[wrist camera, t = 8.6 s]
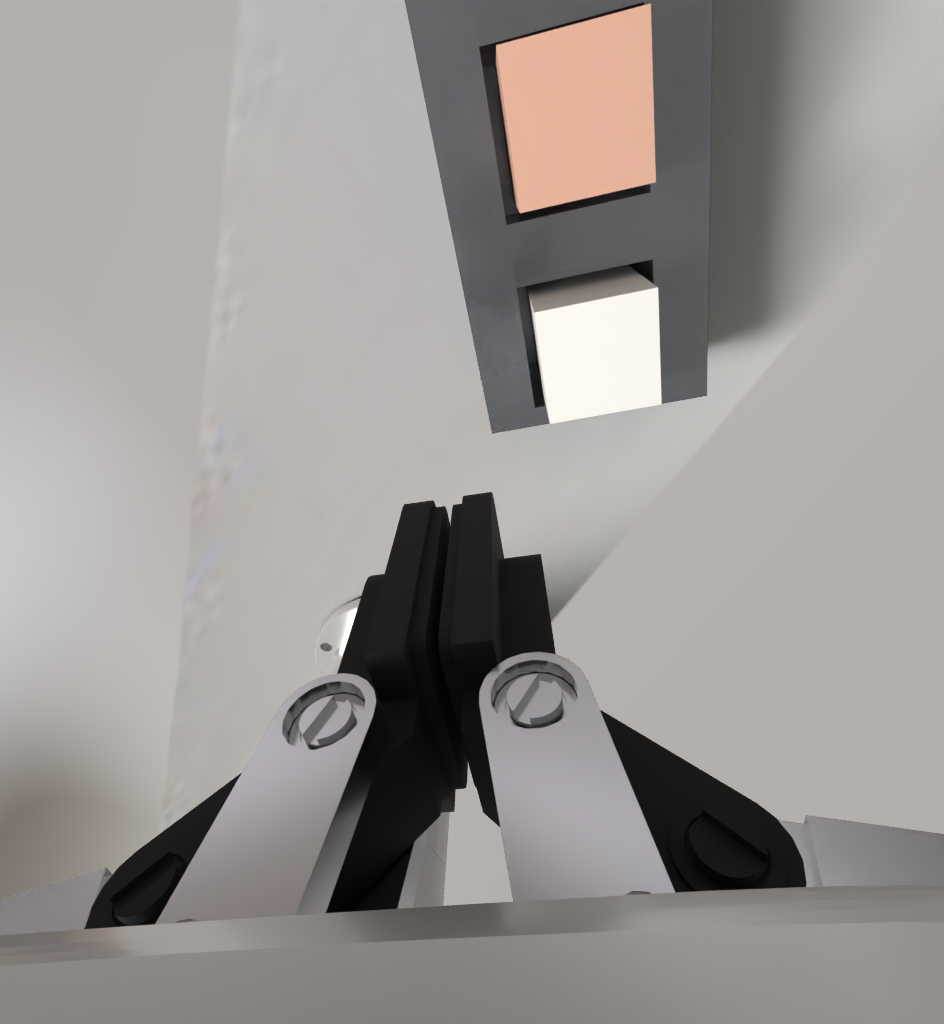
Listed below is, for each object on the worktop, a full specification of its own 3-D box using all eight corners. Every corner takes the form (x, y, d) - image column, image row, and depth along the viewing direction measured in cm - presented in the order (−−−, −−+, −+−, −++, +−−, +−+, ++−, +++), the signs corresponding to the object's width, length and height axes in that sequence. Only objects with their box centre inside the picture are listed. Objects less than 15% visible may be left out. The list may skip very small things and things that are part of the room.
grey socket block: (671, 357, 31) (706, 395, 25) (492, 391, 32) (492, 433, 27) (658, -307, 19) (720, -484, 14) (376, -210, 20) (336, -338, 15)
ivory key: (631, 360, 28) (661, 404, 23) (539, 378, 28) (549, 423, 23) (625, 263, 26) (658, 287, 20) (526, 284, 26) (533, 312, 21)
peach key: (621, 179, 24) (656, 182, 19) (514, 204, 24) (520, 213, 19) (613, 42, 21) (650, 3, 16) (495, 74, 22) (496, 45, 17)
